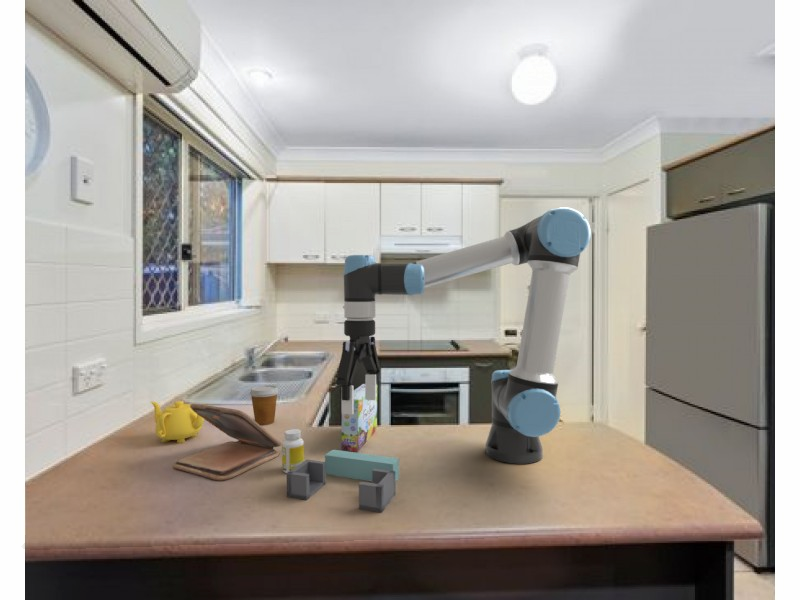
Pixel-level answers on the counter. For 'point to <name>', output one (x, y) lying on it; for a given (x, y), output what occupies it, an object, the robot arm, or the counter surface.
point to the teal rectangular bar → (358, 464)
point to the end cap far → (305, 479)
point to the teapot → (177, 422)
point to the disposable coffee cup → (264, 403)
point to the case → (230, 445)
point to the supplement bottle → (292, 450)
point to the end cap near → (377, 491)
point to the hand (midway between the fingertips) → (359, 406)
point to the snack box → (359, 422)
